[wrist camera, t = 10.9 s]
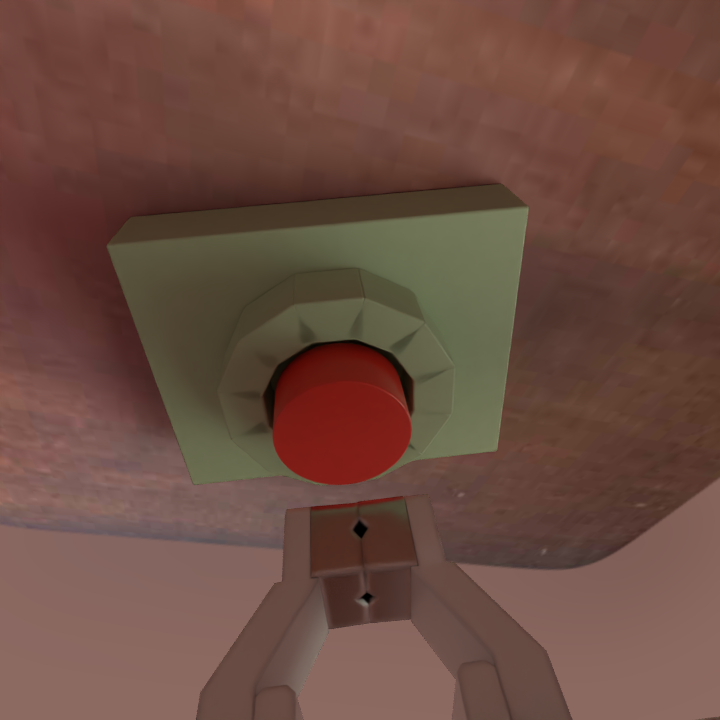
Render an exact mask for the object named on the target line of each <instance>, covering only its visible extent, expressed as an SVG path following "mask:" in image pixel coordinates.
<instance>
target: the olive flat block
mask: <svg viewBox="0 0 720 720" xmlns="http://www.w3.org/2000/svg"><path fill="white" fill-rule="evenodd" d="M528 210H529V208H528V206H527V205H526V204H525V203H524V202H523V201H522V200H520V199H519V198H518V197H517V196H516V195H515V194H513V193H512V192H511V191H510V190H509V189H508V188H506V187H505V186H504V185H503V184H495V185H484V186H472V187H461V188H450V189H439V190H428V191H417V192H405V193H394V194H383V195H372V196H361V197H349V198H338V199H327V200H316V201H305V202H294V203H282V204H271V205H260V206H249V207H238V208H226V209H215V210H204V211H193V212H182V213H171V214H159V215H148V216H137V217H130V218H129V219H128V220H127V221H126V223H125V224H124V225H123V226H122V227H121V228H120V230H119V231H118V232H117V233H116V234H115V236H114V237H113V238H112V239H111V240H110V242H109V243H108V244H107V249H108V252H109V255H110V257H111V260H112V263H113V266H114V268H115V271H116V274H117V277H118V279H119V282H120V285H121V288H122V290H123V293H124V296H125V299H126V301H127V304H128V307H129V310H130V312H131V315H132V318H133V321H134V323H135V326H136V329H137V332H138V334H139V337H140V340H141V343H142V345H143V348H144V351H145V354H146V356H147V359H148V362H149V365H150V367H151V370H152V373H153V375H154V378H155V381H156V384H157V386H158V389H159V392H160V395H161V397H162V400H163V403H164V406H165V408H166V411H167V414H168V417H169V419H170V422H171V425H172V428H173V430H174V433H175V436H176V439H177V441H178V444H179V447H180V450H181V452H182V455H183V458H184V461H185V463H186V466H187V469H188V472H189V474H190V477H191V480H192V483H193V484H194V485H199V484H208V483H216V482H225V481H234V480H243V479H252V478H261V477H270V476H279V475H282V476H286V477H290V478H293V479H297V480H301V481H305V482H309V483H312V484H316V485H330V484H322V483H318V482H314V481H311V480H307V479H305V478H303V477H301V476H299V475H297V474H296V473H294V472H293V471H291V470H290V469H289V468H288V467H287V466H286V465H285V464H284V463H283V462H282V461H281V459H280V458H279V457H278V455H277V453H276V451H275V448H274V445H273V438H272V435H273V420H274V406H275V391H276V386H277V382H278V380H279V377H280V376H281V374H282V372H283V371H284V369H285V368H286V367H287V366H288V365H289V364H290V363H291V362H292V361H293V360H294V359H295V358H296V357H298V356H299V355H301V354H302V353H304V352H306V351H308V350H310V349H313V348H315V347H318V346H322V345H326V344H332V343H351V344H357V345H361V346H365V347H368V348H370V349H372V350H375V351H376V352H378V353H380V354H381V355H383V356H384V357H385V358H386V359H387V360H389V362H390V363H391V364H392V365H393V366H394V368H395V369H396V371H397V373H398V375H399V377H400V381H401V384H402V388H403V392H404V396H405V399H406V403H407V407H408V411H409V414H410V418H411V422H412V435H411V439H410V443H409V445H408V447H407V450H406V451H405V453H404V454H403V456H402V457H401V458H400V459H399V461H398V462H397V463H396V464H394V465H393V466H392V467H391V468H390V469H388V470H387V471H385V472H384V473H382V474H380V475H378V476H376V477H374V478H371V479H369V480H374V479H378V478H379V477H381V476H383V475H385V474H387V473H389V472H391V471H393V470H395V469H397V468H398V467H400V466H402V465H404V464H406V463H408V462H410V461H412V460H421V459H430V458H438V457H447V456H456V455H465V454H474V453H483V452H492V451H497V447H498V439H499V431H500V424H501V416H502V408H503V401H504V393H505V385H506V378H507V370H508V363H509V355H510V347H511V340H512V332H513V324H514V317H515V309H516V301H517V294H518V286H519V279H520V271H521V263H522V256H523V248H524V240H525V233H526V225H527V217H528Z"/></svg>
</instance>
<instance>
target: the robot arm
mask: <svg viewBox="0 0 720 720" xmlns="http://www.w3.org/2000/svg"><path fill="white" fill-rule="evenodd" d="M369 619H370V620H369ZM409 619H411V621H412V623H413V624H414V626H415V627H416V628H417V629H418V631H419V632H420V633H421V635H422V636H423V637H424V639H425V640H426V641H427V643H428V644H429V645H430V647H431V648H432V649H433V651H434V652H435V653H436V654H437V656H438V657H439V658H440V660H441V661H442V662H443V664H444V665H445V666H446V667H447V669H448V670H449V671H450V673H451V674H452V675H453V677H454V678H455V679H456V684H455V694H454V703H453V713H452V720H572V717H571V715H570V712H569V709H568V707H567V704H566V701H565V699H564V696H563V693H562V691H561V688H560V685H559V683H558V680H557V677H556V675H555V672H554V669H553V667H552V664H551V661H550V659H549V656H548V654H547V651H546V650H545V649H544V648H543V647H542V646H541V645H540V644H539V643H538V642H537V641H536V640H535V639H534V638H533V637H532V636H531V635H530V634H528V633H527V632H526V631H525V630H524V629H523V628H522V627H521V626H520V625H519V624H518V623H517V622H516V621H515V620H514V619H513V618H512V617H511V616H510V615H508V613H507V612H506V611H504V610H503V609H502V608H501V607H500V606H499V605H498V604H497V603H496V602H495V601H494V600H493V599H492V598H491V597H490V596H489V595H488V594H487V593H486V592H485V591H484V590H483V589H482V588H480V587H479V586H478V585H477V584H476V583H475V582H474V581H473V580H472V579H471V578H470V577H469V576H468V575H467V574H466V573H465V572H464V571H463V570H462V569H461V568H460V567H458V566H457V565H456V564H455V563H454V562H446V558H445V554H444V551H443V547H442V543H441V539H440V535H439V531H438V527H437V523H436V519H435V516H434V512H433V508H432V504H431V500H430V497H429V496H428V495H427V494H422V495H413V496H404V498H403V496H400V497H392V498H384V499H376V500H368V501H360V502H357V503H349V504H338V505H326V506H314V507H305V508H295V509H287V510H286V514H285V524H284V547H283V571H282V582H278V583H274V585H273V586H272V588H271V589H270V591H269V592H268V594H267V595H266V597H265V598H264V600H263V601H262V603H261V604H260V605H259V607H258V609H257V610H256V611H255V613H254V614H253V616H252V617H251V619H250V620H249V622H248V623H247V625H246V626H245V628H244V629H243V631H242V632H241V634H240V635H239V636H238V638H237V640H236V641H235V642H234V644H233V645H232V647H231V648H230V650H229V651H228V653H227V654H226V656H225V657H224V659H223V660H222V662H221V663H220V664H219V666H218V667H217V669H216V670H215V672H214V673H213V675H212V676H211V678H210V679H209V681H208V682H207V684H206V685H205V687H204V688H203V690H202V691H201V693H200V698H199V704H198V710H197V717H196V720H304V719H303V716H302V713H301V709H300V706H299V702H298V696H299V694H300V692H301V690H302V688H303V686H304V683H305V682H306V679H307V677H308V675H309V673H310V671H311V669H312V667H313V665H314V662H315V661H316V658H317V656H318V654H319V652H320V650H321V648H322V646H323V644H324V641H325V639H326V637H327V635H328V633H329V630H328V629H334V628H341V627H347V626H353V625H361V624H367V623H377V622H388V621H398V620H409ZM698 720H720V717H713V718H705V719H698Z"/></svg>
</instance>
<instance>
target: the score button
mask: <svg viewBox="0 0 720 720" xmlns="http://www.w3.org/2000/svg"><path fill="white" fill-rule="evenodd" d="M411 435H412V422H411V418H410V414H409V411H408V407H407V403H406V399H405V396H404V392H403V388H402V384H401V381H400V377H399V375H398V373H397V371H396V369H395V368H394V366H393V365H392V364H391V363H390V362H389V360H387V359H386V358H385V357H384V356H383V355H381V354H380V353H378V352H376V351H375V350H372V349H370V348H368V347H365V346H361V345H357V344H351V343H332V344H326V345H322V346H318V347H315V348H313V349H310V350H308V351H306V352H304V353H302V354H301V355H299V356H298V357H296V358H295V359H294V360H293V361H292V362H291V363H290V364H289V365H288V366H287V367H286V368H285V369H284V371H283V372H282V374H281V376H280V377H279V380H278V382H277V386H276V391H275V406H274V420H273V435H272V438H273V445H274V448H275V451H276V453H277V455H278V457H279V458H280V459H281V461H282V462H283V463H284V464H285V465H286V466H287V467H288V468H289V469H290V470H291V471H293V472H294V473H296V474H297V475H299V476H301V477H303V478H305V479H307V480H311V481H314V482H318V483H322V484H330V485H345V484H353V483H358V482H362V481H366V480H369V479H371V478H374V477H376V476H378V475H380V474H382V473H384V472H385V471H387V470H388V469H390V468H391V467H392V466H393V465H394V464H396V463H397V462H398V461H399V459H400V458H401V457H402V456H403V454H404V453H405V451H406V450H407V447H408V445H409V443H410V439H411Z"/></svg>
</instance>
